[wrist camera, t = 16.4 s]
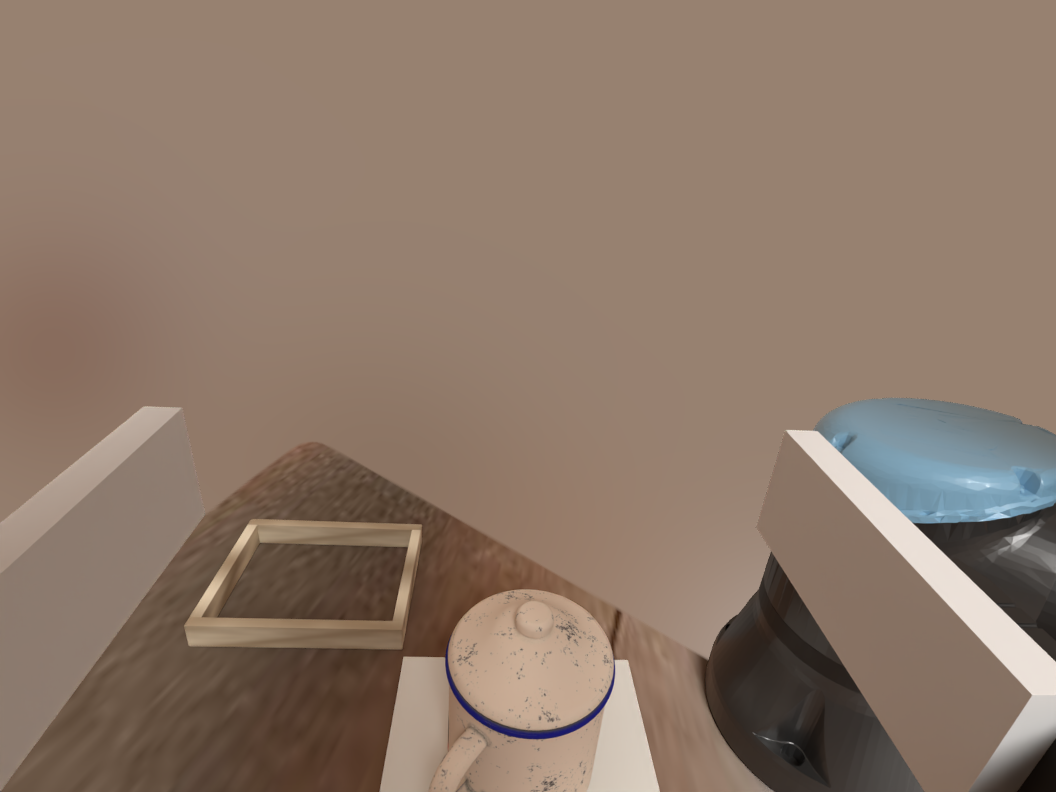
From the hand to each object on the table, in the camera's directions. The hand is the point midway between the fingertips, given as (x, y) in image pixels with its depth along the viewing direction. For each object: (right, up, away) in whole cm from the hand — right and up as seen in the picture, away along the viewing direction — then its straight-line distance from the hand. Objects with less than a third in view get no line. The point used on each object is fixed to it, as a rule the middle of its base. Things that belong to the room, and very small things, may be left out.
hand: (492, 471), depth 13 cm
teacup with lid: (-1, -21, +20) cm, 29 cm away
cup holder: (-16, -14, +34) cm, 41 cm away
